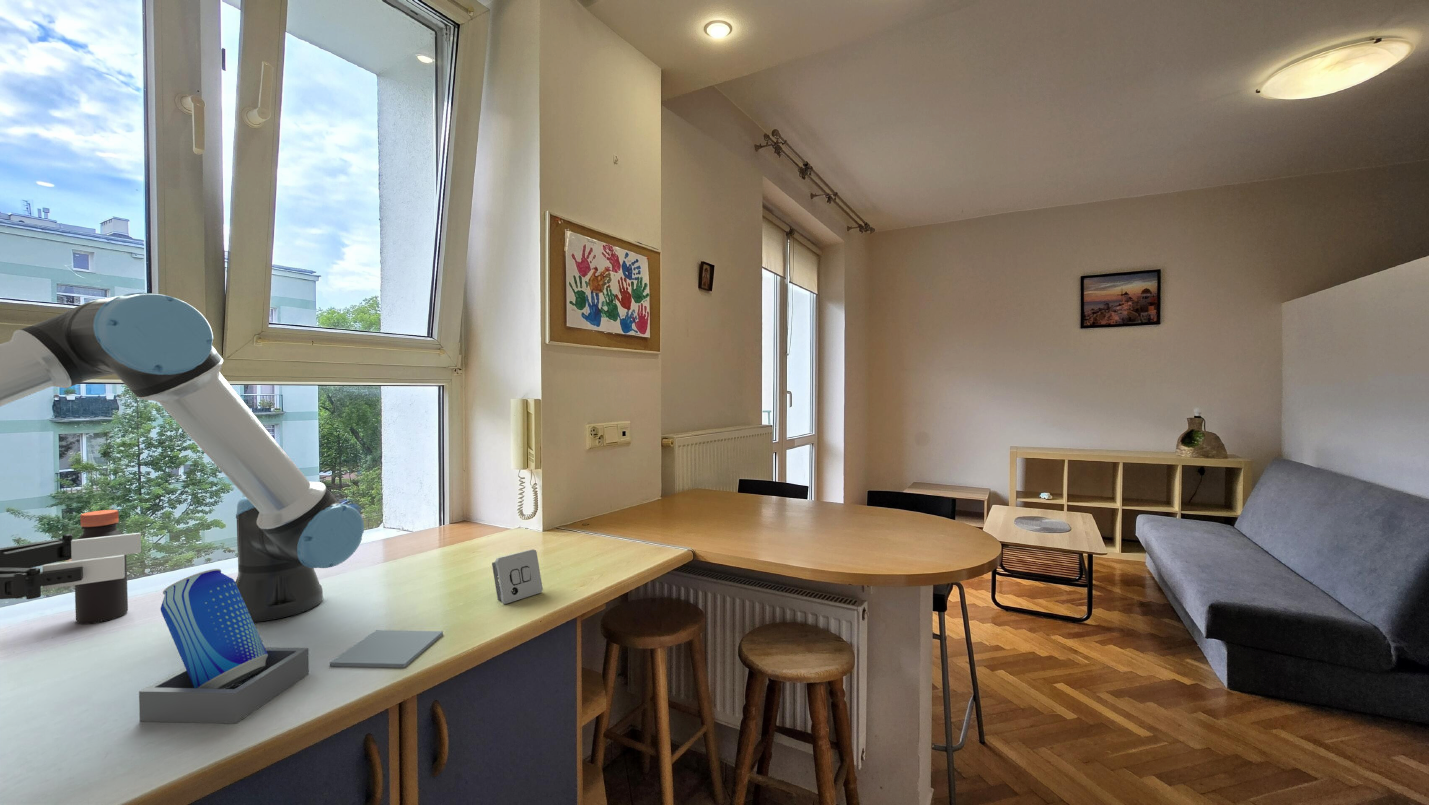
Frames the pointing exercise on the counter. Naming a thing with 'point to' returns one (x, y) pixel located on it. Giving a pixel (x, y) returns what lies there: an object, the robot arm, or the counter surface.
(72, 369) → the robot arm
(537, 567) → the electrical switch
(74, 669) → the counter surface
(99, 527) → the bottle
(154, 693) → the grey storage bin
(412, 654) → the coaster mat
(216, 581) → the beer can
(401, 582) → the counter surface
